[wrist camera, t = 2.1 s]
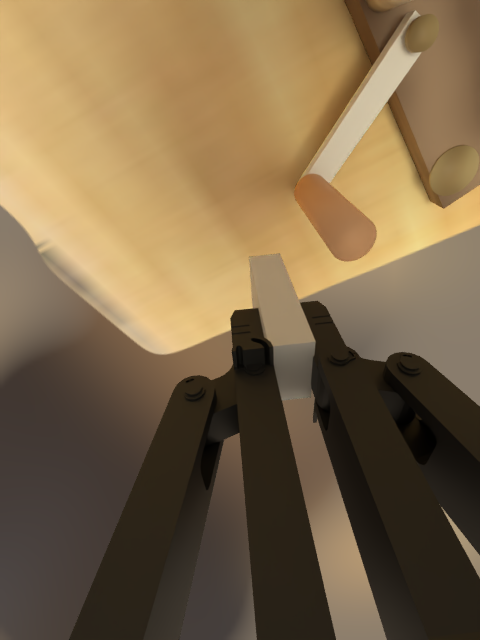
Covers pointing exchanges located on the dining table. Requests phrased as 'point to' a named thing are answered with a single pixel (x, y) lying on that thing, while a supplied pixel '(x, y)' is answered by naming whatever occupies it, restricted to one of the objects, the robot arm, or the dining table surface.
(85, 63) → the dining table surface
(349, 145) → the crank handle
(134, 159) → the dining table surface
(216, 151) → the dining table surface
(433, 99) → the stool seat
